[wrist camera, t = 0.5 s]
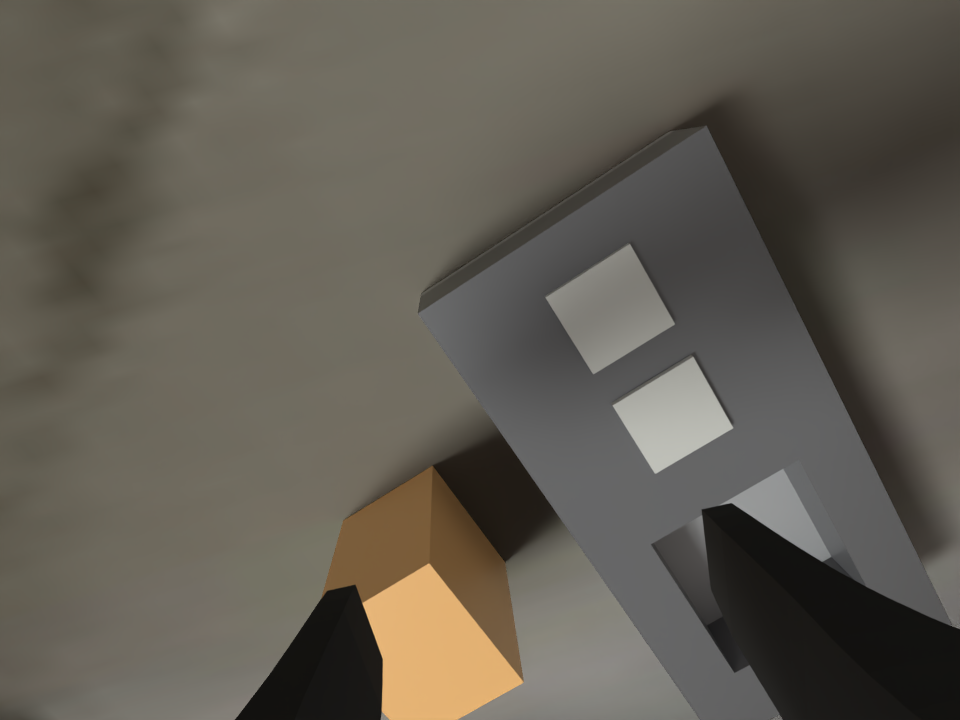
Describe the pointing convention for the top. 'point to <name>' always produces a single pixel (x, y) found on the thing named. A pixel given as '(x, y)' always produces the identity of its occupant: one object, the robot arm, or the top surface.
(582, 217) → the power strip
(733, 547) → the robot arm
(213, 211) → the top surface
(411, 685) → the plug block
